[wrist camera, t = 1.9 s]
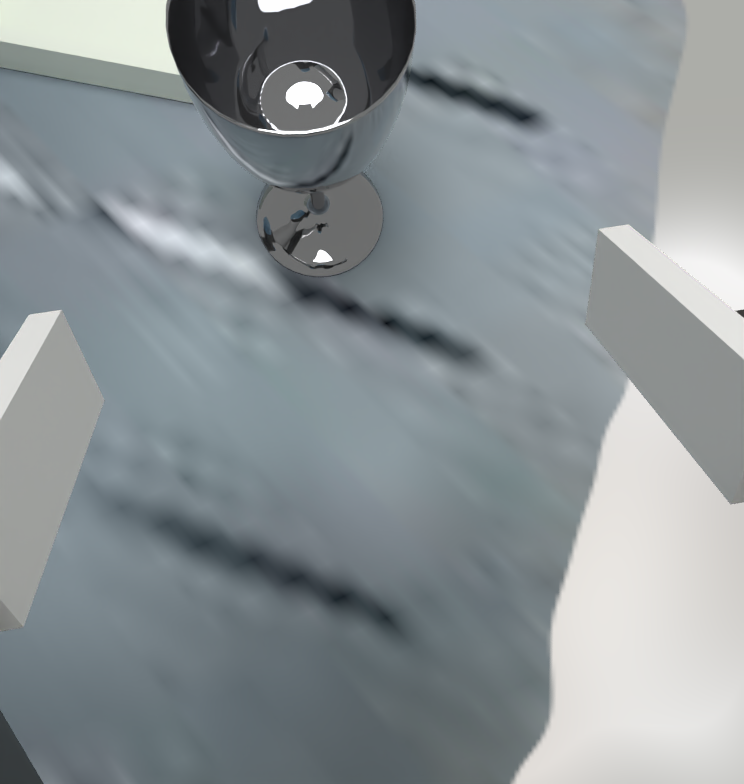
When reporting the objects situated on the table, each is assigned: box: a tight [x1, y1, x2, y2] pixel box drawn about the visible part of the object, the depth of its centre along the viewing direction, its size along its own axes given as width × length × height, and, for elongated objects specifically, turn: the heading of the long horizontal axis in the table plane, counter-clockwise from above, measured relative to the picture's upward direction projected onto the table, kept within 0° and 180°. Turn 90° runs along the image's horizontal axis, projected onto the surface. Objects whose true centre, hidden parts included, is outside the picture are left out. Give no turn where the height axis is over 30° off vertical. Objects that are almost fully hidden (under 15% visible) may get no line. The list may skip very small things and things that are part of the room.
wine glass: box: [166, 0, 416, 277], centre depth 26 cm, size 8×8×15 cm
